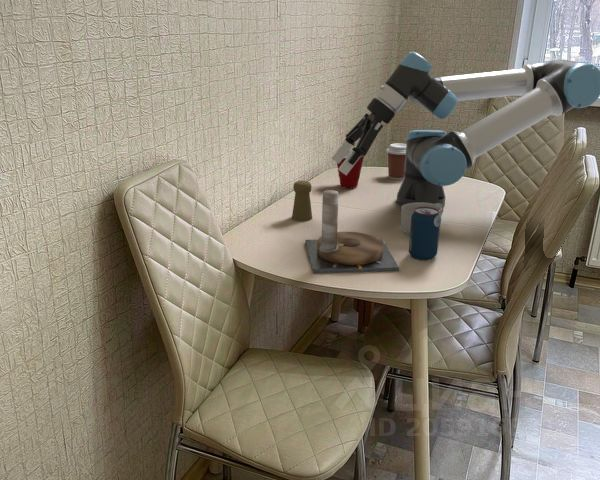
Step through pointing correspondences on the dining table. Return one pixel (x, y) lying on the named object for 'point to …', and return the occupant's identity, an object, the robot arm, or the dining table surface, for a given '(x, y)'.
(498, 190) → the dining table surface
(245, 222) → the dining table surface
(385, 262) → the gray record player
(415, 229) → the soda can
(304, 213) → the cork
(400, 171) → the coffee cup
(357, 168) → the plastic cup
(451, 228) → the dining table surface
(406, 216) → the teacup
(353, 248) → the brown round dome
